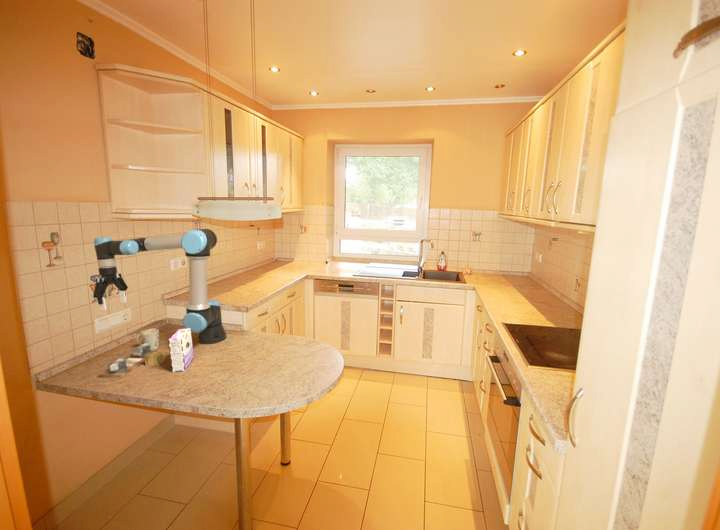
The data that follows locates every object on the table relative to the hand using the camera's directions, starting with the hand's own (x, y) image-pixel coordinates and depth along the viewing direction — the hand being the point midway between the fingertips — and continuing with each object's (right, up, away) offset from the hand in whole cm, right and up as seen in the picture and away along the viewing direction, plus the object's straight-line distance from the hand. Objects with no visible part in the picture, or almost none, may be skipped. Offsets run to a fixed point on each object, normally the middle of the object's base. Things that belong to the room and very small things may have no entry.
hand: (113, 306), depth 180 cm
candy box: (+45, -27, -15) cm, 55 cm away
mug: (+15, -24, +6) cm, 29 cm away
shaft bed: (+17, -27, -13) cm, 35 cm away
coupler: (+29, -27, -12) cm, 42 cm away
